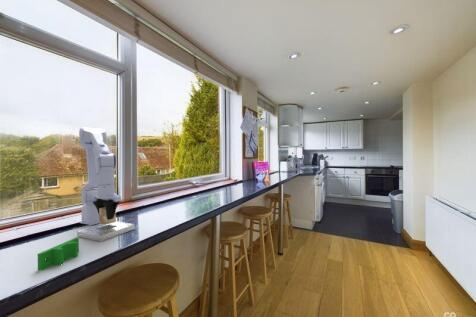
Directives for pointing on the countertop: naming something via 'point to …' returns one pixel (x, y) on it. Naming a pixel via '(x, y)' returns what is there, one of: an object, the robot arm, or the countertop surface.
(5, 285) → the countertop surface
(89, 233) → the grey square plate
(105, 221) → the maple wedge
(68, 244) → the green boxy piece
